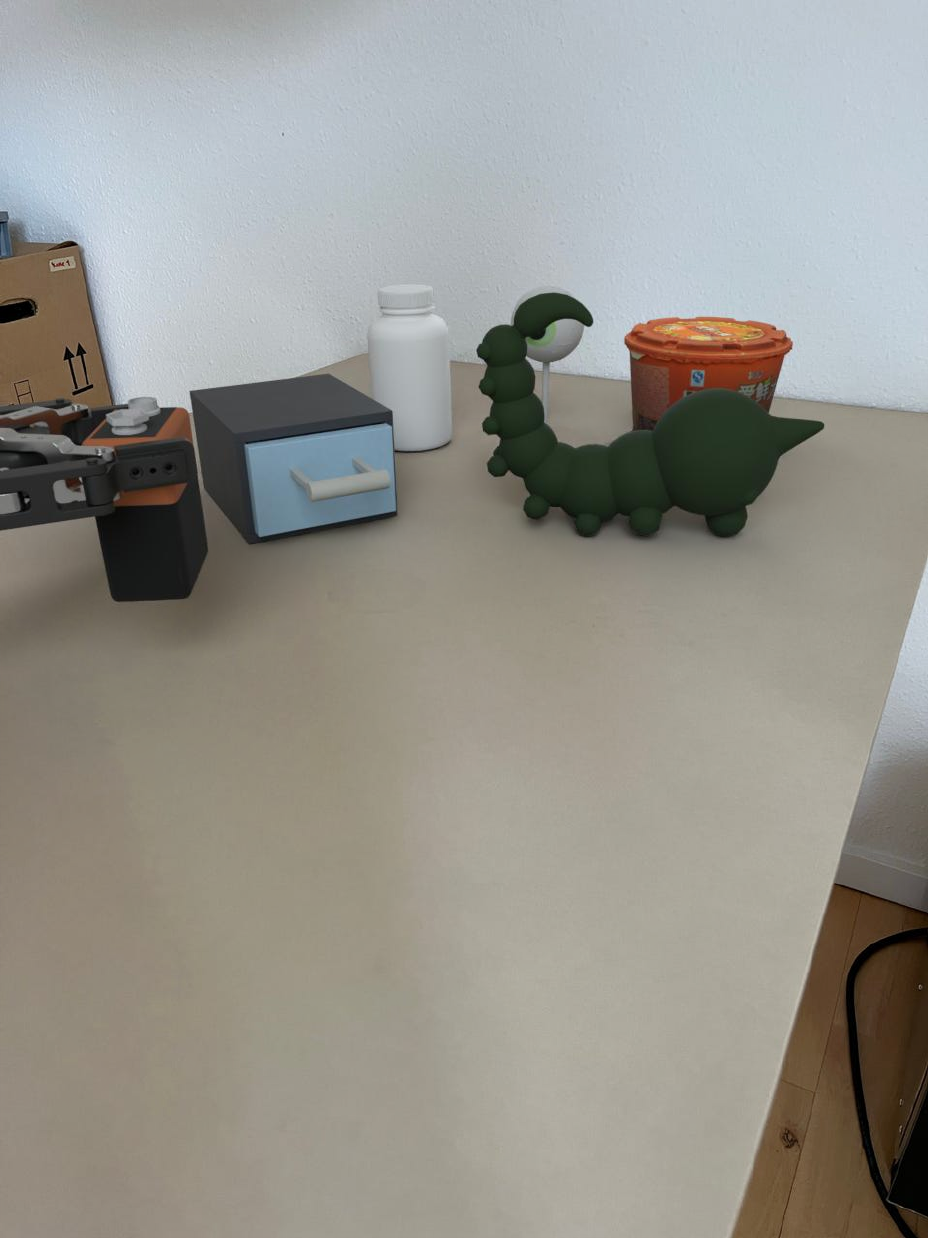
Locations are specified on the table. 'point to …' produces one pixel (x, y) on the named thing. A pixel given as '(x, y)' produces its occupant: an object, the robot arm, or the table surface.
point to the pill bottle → (411, 366)
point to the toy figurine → (629, 443)
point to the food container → (701, 362)
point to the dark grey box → (271, 434)
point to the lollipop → (551, 340)
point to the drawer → (320, 477)
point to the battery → (151, 514)
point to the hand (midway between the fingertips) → (176, 438)
